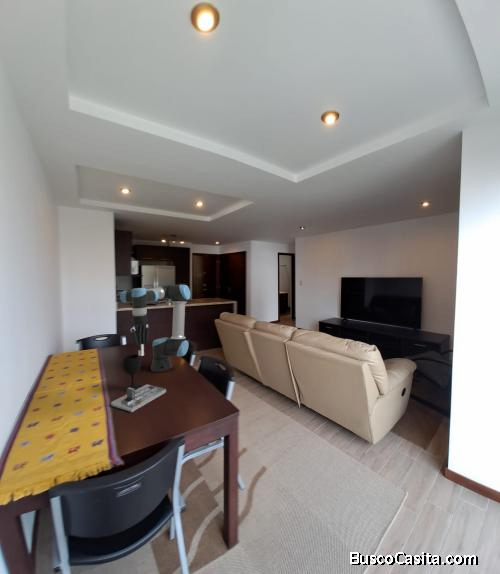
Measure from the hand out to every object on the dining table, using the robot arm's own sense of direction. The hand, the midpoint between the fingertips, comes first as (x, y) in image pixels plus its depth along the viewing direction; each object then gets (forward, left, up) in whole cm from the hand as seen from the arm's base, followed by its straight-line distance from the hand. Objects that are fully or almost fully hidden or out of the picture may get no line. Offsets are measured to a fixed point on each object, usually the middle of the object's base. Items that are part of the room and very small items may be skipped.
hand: (141, 355), depth 139 cm
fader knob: (+8, 0, -23) cm, 24 cm away
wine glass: (-6, -16, -25) cm, 30 cm away
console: (+2, 0, -25) cm, 25 cm away
